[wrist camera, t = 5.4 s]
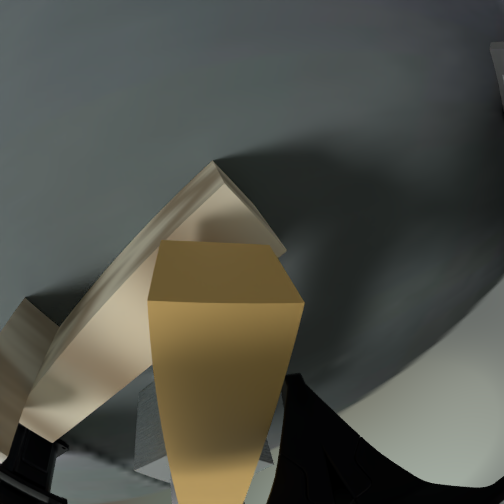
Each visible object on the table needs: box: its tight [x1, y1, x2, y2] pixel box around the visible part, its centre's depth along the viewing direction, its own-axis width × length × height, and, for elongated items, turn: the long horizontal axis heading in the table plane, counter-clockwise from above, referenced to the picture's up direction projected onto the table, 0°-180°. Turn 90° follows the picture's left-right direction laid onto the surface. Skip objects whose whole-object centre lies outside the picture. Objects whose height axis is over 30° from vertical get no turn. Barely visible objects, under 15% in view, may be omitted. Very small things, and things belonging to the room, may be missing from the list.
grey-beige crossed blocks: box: [0, 161, 287, 463], centre depth 11 cm, size 18×6×10 cm, turn 131°
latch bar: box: [147, 240, 305, 504], centre depth 10 cm, size 16×4×3 cm, turn 173°
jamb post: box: [134, 381, 274, 483], centre depth 17 cm, size 6×6×7 cm
